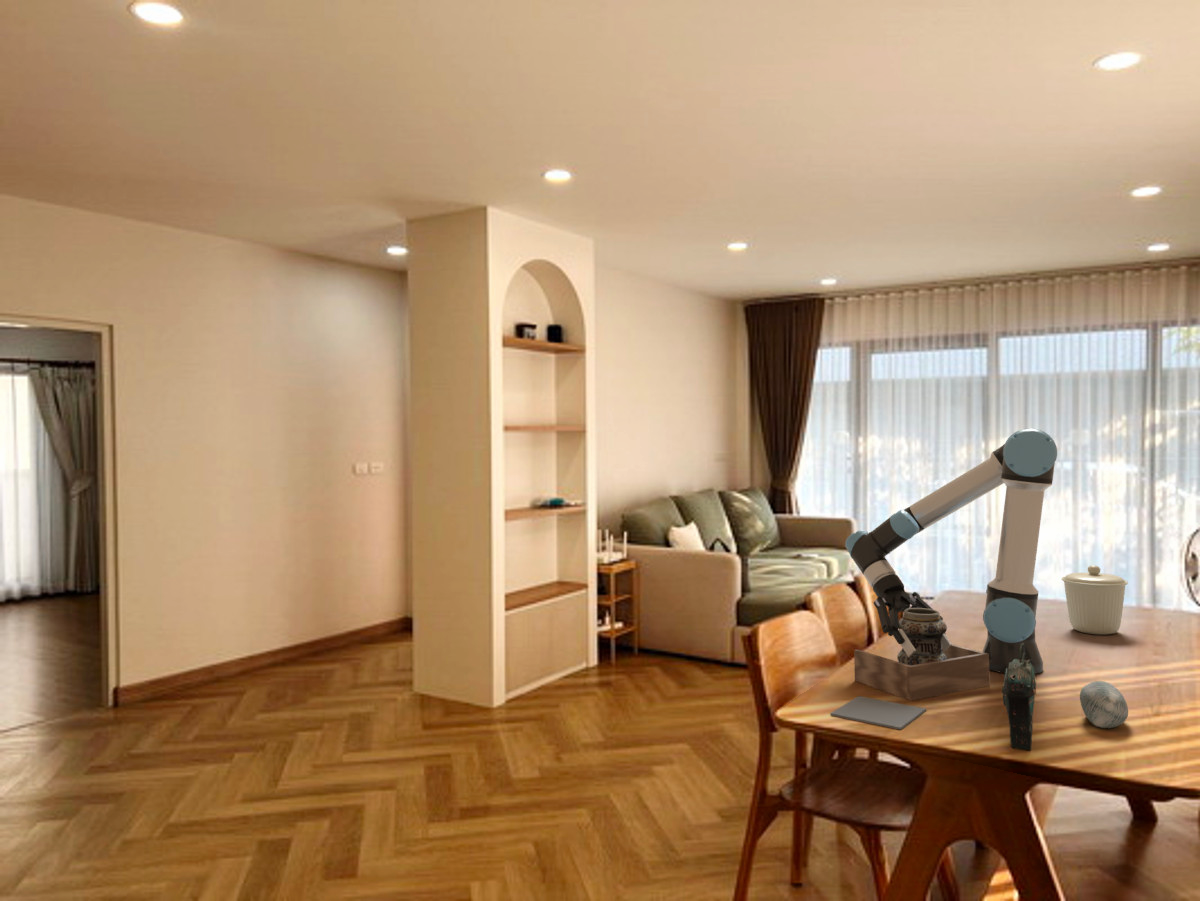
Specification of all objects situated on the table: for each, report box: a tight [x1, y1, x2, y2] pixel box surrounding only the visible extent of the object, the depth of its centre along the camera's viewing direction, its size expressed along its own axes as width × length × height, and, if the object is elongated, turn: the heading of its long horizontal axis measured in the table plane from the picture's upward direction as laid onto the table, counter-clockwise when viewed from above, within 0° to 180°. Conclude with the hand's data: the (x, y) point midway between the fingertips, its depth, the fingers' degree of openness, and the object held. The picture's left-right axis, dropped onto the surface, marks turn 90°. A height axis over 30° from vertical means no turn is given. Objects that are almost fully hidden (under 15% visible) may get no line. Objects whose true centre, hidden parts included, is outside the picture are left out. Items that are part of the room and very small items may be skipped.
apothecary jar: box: [896, 607, 948, 666], centre depth 212 cm, size 12×12×18 cm
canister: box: [1061, 564, 1129, 636], centre depth 265 cm, size 18×18×21 cm
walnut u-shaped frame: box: [853, 643, 990, 702], centre depth 212 cm, size 19×26×8 cm
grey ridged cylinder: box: [1079, 680, 1129, 729], centre depth 181 cm, size 14×10×10 cm
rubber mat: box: [830, 695, 927, 730], centre depth 190 cm, size 16×16×1 cm
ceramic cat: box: [1001, 643, 1037, 752], centre depth 173 cm, size 20×6×20 cm, turn 151°
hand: (930, 650), depth 209 cm, fingers closed on apothecary jar, 12 cm apart
